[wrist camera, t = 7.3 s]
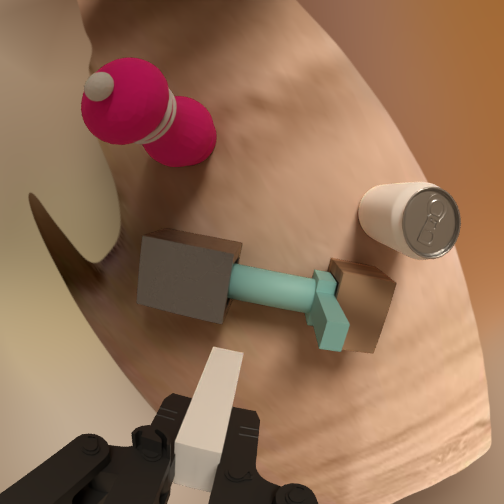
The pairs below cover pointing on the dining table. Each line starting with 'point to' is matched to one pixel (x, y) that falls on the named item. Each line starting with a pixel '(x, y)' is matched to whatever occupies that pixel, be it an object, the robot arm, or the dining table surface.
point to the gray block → (187, 273)
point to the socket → (362, 302)
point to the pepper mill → (146, 113)
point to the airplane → (295, 299)
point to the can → (411, 218)
